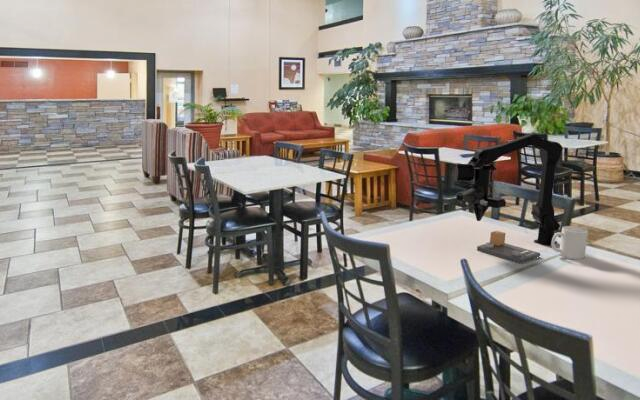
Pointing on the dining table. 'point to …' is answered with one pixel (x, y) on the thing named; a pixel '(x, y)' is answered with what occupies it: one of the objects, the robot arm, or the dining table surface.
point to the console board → (509, 252)
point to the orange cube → (497, 238)
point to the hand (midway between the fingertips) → (478, 220)
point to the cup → (571, 242)
